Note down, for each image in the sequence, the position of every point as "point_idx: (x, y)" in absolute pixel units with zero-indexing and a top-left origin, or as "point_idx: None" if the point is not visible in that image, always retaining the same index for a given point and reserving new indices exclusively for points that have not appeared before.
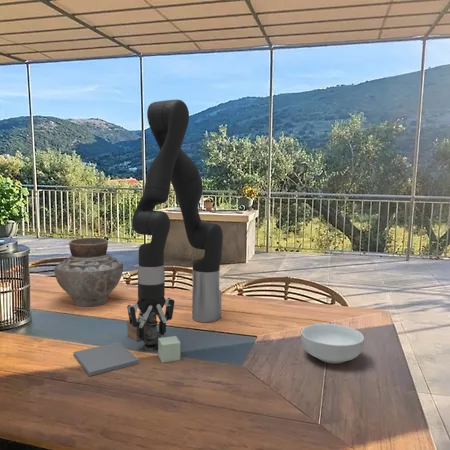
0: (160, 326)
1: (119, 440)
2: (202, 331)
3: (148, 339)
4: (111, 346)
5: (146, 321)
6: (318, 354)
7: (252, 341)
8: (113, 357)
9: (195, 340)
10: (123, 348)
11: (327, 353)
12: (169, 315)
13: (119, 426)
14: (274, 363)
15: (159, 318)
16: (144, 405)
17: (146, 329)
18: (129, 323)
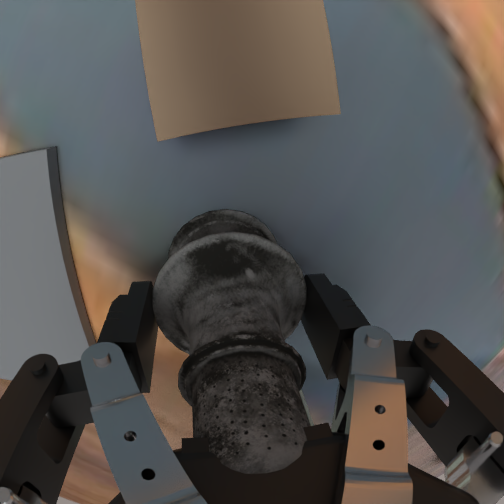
0: (322, 329)
1: (67, 497)
2: (499, 221)
3: (184, 347)
4: (1, 200)
5: (196, 377)
6: (446, 469)
7: (492, 356)
8: (11, 326)
9: (430, 291)
10: (52, 260)
11: (445, 478)
12: (408, 413)
13: (64, 488)
14: (416, 445)
15: (350, 361)
16: (103, 484)
17: (189, 336)
18: (139, 18)
